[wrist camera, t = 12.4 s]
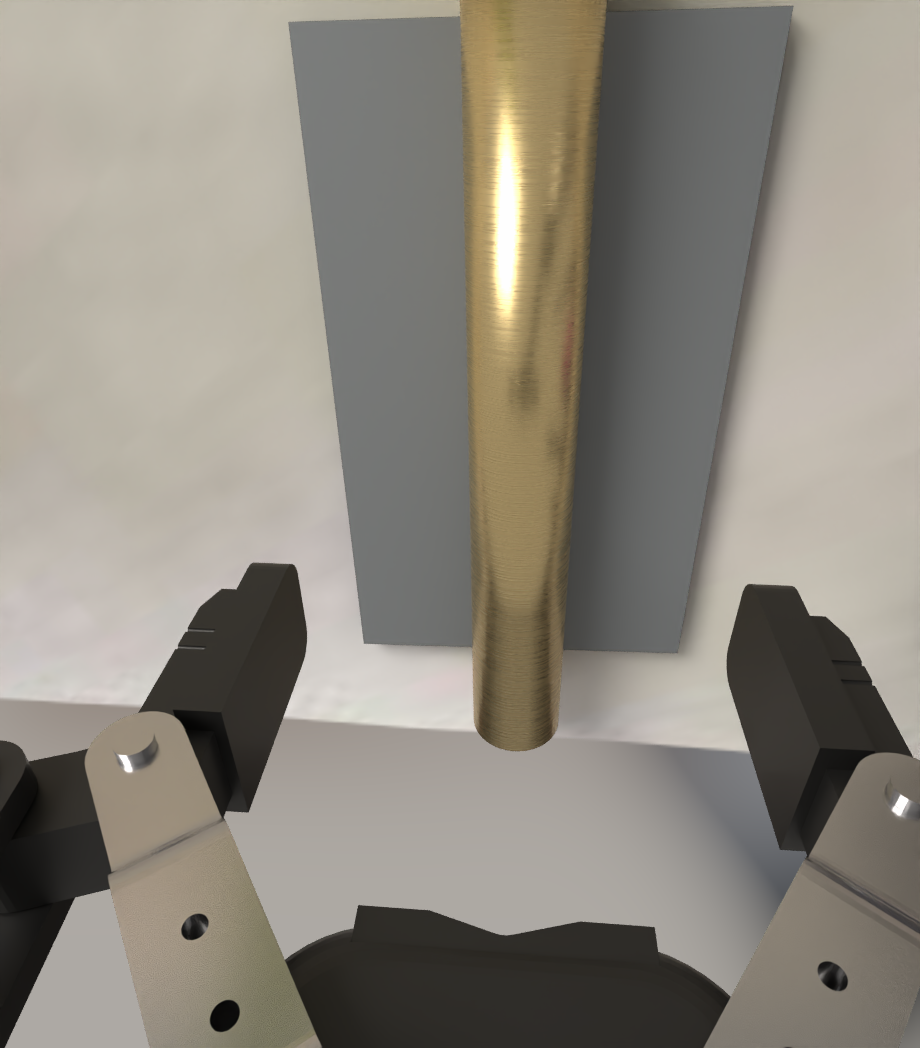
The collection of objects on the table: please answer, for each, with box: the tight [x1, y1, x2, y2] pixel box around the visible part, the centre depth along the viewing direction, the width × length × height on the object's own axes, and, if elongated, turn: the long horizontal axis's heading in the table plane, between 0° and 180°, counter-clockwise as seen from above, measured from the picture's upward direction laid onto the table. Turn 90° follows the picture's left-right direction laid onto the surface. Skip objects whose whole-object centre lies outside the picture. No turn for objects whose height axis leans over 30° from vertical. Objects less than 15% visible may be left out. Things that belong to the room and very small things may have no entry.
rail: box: [460, 0, 607, 751], centre depth 21 cm, size 24×3×3 cm, turn 1°
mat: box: [288, 6, 793, 653], centre depth 23 cm, size 20×12×1 cm, turn 1°
